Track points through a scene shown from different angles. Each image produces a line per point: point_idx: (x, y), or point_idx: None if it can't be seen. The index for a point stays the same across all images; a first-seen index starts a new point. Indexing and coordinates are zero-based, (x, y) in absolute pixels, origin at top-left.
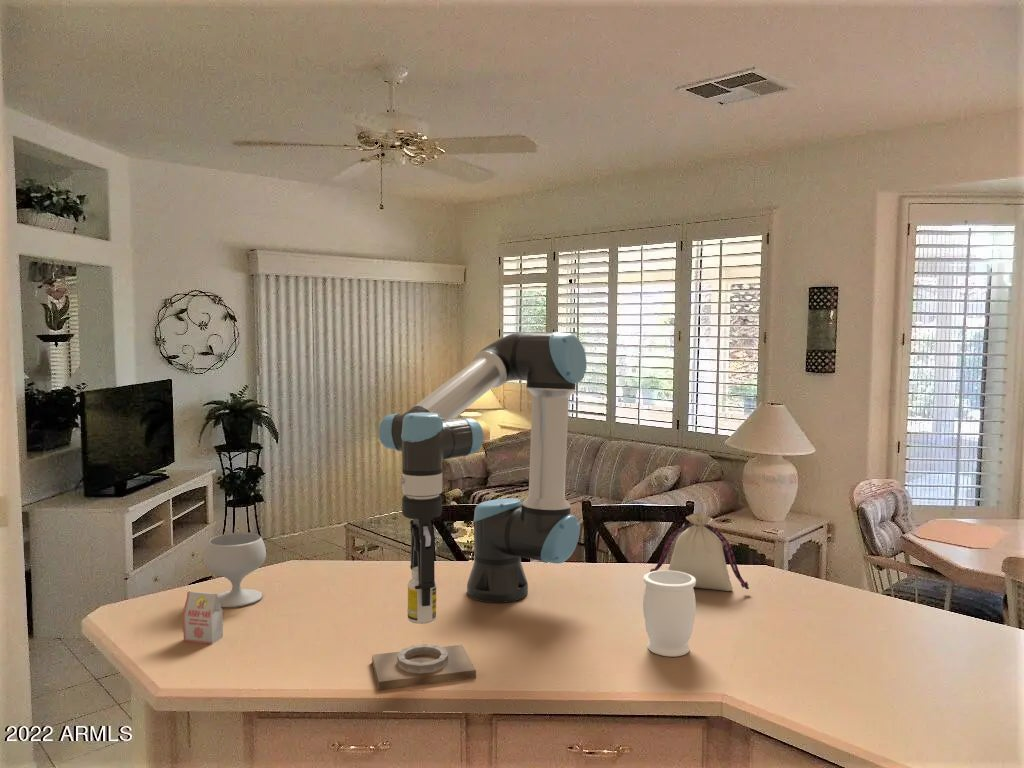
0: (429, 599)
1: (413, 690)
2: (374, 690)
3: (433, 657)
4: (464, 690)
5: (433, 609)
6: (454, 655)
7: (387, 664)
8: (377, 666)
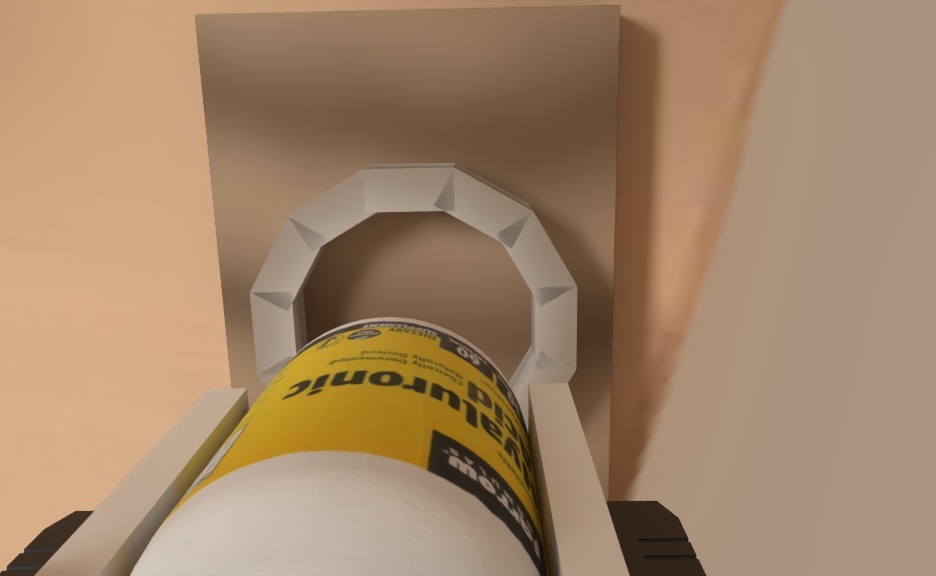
0: (689, 553)
1: (656, 386)
2: None
3: (365, 243)
4: (747, 114)
5: (491, 393)
6: (363, 103)
7: None
8: None
